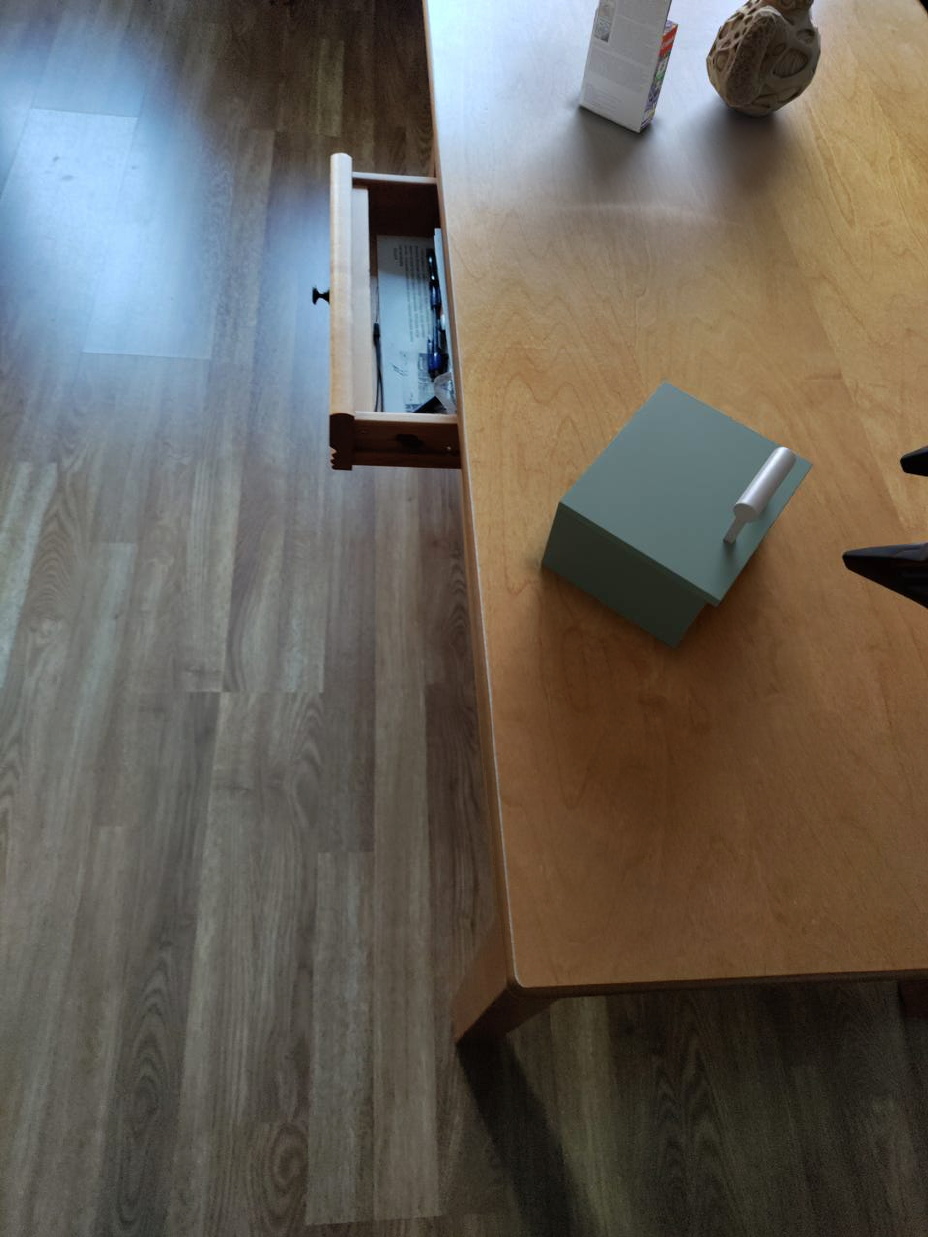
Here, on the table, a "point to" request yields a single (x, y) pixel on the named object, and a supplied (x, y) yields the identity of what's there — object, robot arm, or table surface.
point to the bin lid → (686, 491)
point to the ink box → (627, 60)
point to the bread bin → (620, 580)
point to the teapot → (765, 55)
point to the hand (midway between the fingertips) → (874, 510)
